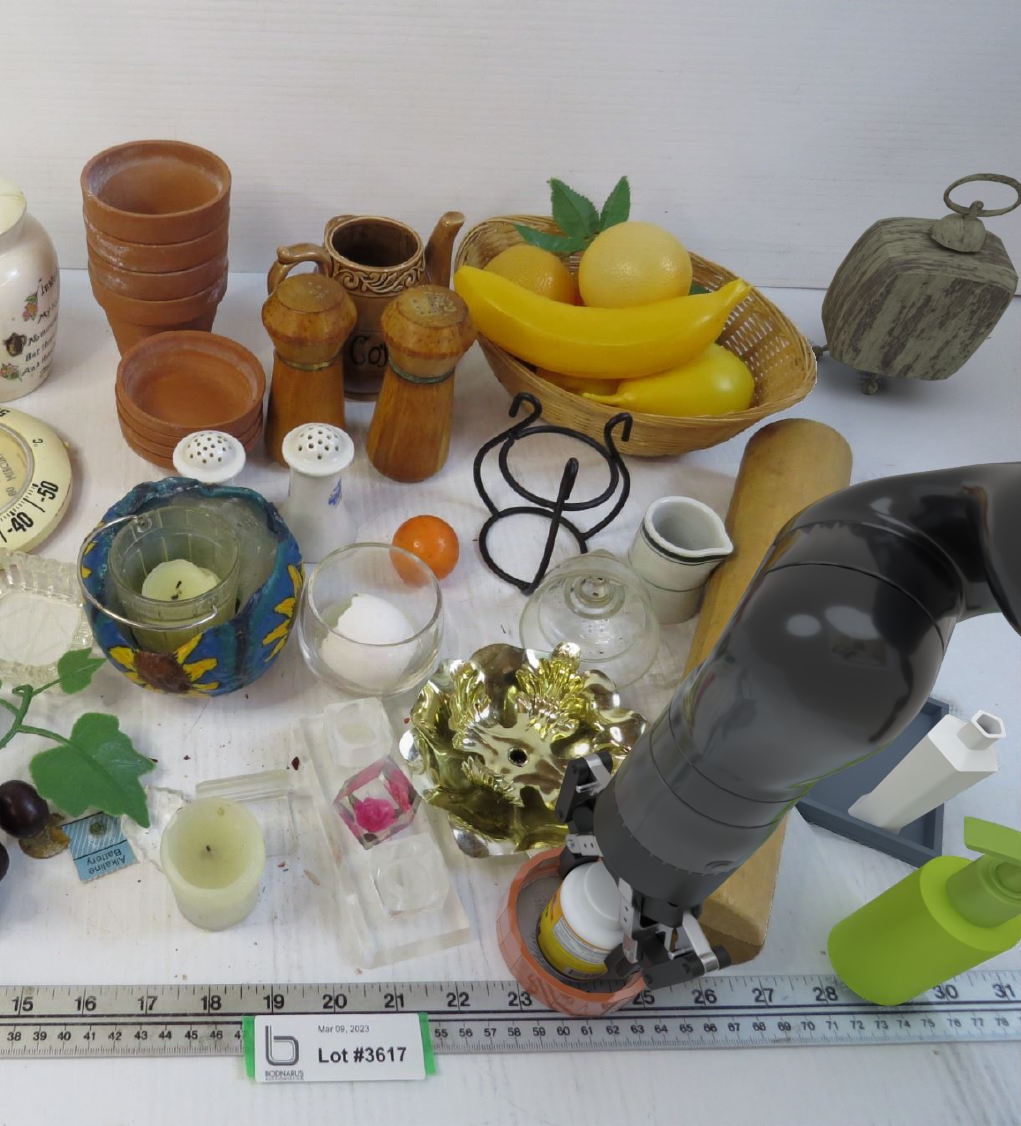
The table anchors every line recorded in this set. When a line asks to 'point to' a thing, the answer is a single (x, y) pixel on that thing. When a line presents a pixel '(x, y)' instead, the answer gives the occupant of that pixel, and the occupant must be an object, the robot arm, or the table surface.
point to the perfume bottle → (933, 771)
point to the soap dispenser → (934, 920)
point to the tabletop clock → (920, 292)
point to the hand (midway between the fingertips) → (594, 915)
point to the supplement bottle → (581, 924)
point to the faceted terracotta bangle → (531, 971)
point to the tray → (848, 785)
